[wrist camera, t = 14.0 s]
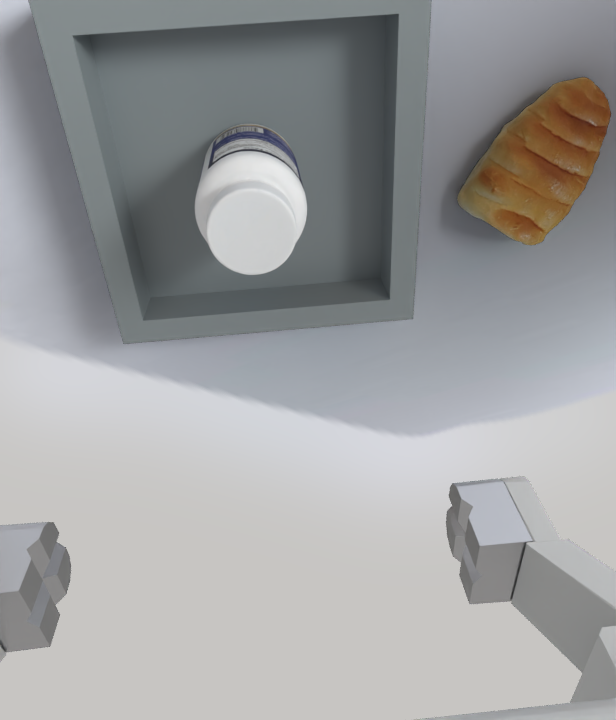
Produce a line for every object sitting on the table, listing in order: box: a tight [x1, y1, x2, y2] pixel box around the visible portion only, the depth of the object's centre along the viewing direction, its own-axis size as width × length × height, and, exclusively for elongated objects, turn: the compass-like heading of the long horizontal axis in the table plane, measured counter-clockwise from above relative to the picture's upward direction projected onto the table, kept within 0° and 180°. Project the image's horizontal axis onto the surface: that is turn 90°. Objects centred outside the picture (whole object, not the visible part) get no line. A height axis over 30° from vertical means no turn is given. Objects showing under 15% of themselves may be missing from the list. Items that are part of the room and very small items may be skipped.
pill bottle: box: [195, 124, 307, 275], centre depth 29 cm, size 5×5×10 cm
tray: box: [29, 0, 432, 344], centre depth 32 cm, size 18×18×4 cm
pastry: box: [457, 77, 611, 245], centre depth 34 cm, size 9×7×4 cm
